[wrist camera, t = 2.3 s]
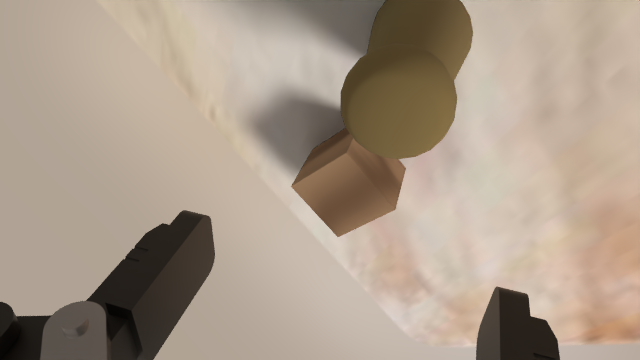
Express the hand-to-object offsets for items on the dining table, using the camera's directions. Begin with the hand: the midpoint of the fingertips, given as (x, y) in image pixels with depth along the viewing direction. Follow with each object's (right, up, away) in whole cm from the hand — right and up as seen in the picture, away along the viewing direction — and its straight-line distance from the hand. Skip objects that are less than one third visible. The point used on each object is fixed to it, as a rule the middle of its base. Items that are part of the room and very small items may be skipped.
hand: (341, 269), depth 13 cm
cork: (+6, +11, +16) cm, 20 cm away
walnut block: (+2, +4, +22) cm, 22 cm away
